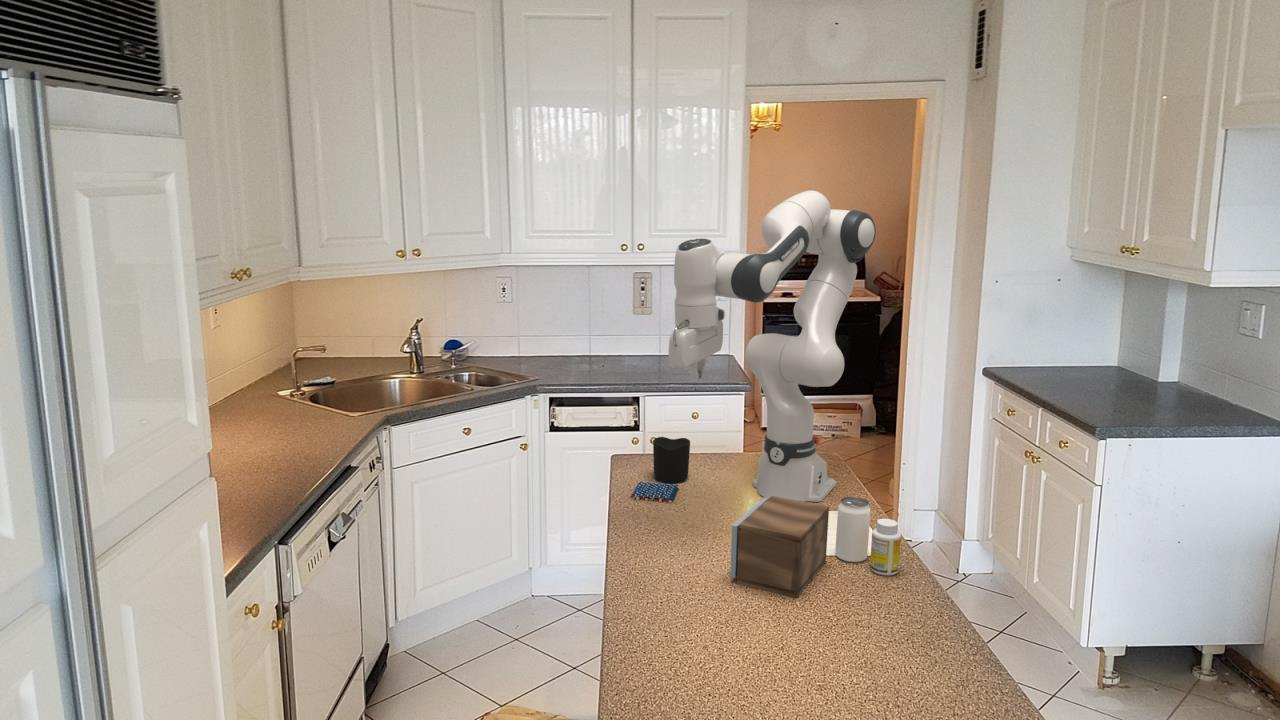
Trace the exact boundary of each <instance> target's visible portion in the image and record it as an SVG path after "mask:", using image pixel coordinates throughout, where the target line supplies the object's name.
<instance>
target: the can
mask: <svg viewBox="0 0 1280 720" xmlns="http://www.w3.org/2000/svg"><path fill="white" fill-rule="evenodd" d="M869 504H870V502H869V501H868V500H867V499H865V498H863V497H859V496H844V497H842V498H841V499H840V503H839V505H838V507H837V517H836V518H837V519H836V520H837V521H836V535H835V550H834V551H835V552H834V554H835V556H836V557H837V558H838V559H839V560H840V561H843V562H846V563H853V564H854V563H855V564H856V563H861V562H864V561H866V559H867V558H868V553H869V552H868V551H869V541H870V540H869V539H870V538H869V537H870V524H871V508H870V506H869Z"/></svg>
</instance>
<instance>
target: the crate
mask: <svg viewBox="0 0 1280 720" xmlns="http://www.w3.org/2000/svg"><path fill="white" fill-rule="evenodd" d="M829 513H830V506H829V505H824V504H818V503H814V502H813V503H812V502H809V501H804V502H803V501H798V500H792V499H787V498H782V497H776V496H771V497H770V498H769V499H768V500H767V501H766V502H764V503H763V504H762V505H761V506H760V507H759V508H757V509H756V510H755V511H754V512H753V513H752V514H751V515H749V516H748V517H747V518H746V519H745V520H744V521H743V522H741V523H740V524H739V541H738V566H737V577H736V584H737V585H741V586H745V587H750V588H754V589H758V590H762V591H767V592H770V593H775V594H779V595H783V596H788V597H793V598H796V599H797V598H798V597H799V596H800V595H801V594H802V593H803V591H805V589H806V588H807V586H808V585H809V584H810V583H811V581H812V580H813V579H814V578H815V577H816V575H817V574H818V573H819V572H820V570H821V569H822V568H823V567H824V565H825V564H826V563H827V548H828V547H827V546H828V534H829V533H828V530H829V516H830V514H829Z"/></svg>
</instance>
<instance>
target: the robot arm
mask: <svg viewBox="0 0 1280 720" xmlns="http://www.w3.org/2000/svg"><path fill="white" fill-rule="evenodd" d="M761 236H762V239H763V241H764V243H765V244H766V246H767V247H768V248H769V250H768V251H766V252H764V253H754V254H753V253H752V254H751V253H738V252H737V253H736V252H728V251H725V250H722V249H720V248H718V247H717V246H716V245H714V243H713V241H712V240H711V239H708V238H694V239H688V240H685V241H682V242H681V243H680V244H679V245H678V246H677V248H676V250H675V255H674V256H675V257H674V267H673V274H674V275H673V277H674V279H673V280H674V281H673V282H674V283H673V285H674V287H675V291H676V293H675V299H674V326H675V327H674V329H673V331H672V332H671V333H670V336H669V341H668V359H667V360H668V364H669V367H670V368H671V369H672V368H673V369H687V373H688V380H689V382H693V383H697V382H698V381H700V380H701V379H703V378H704V377H705V376H704V375H705V373H704V372H705V368H706V363H707V358H708V357H710V356H712V355H714V354H717V353H718V352H720V351H721V349H722V347H723V342H724V341H723V340H724V322H723V320H724V319H725V317H726V314H725V313H726V312H725V310H724V309H722V308H720V307H718V306H717V298H716V296H717V297H723V298H729V299H736V300H737V299H738V300H743V301H747V302H751V303H755V304H757V303H762V302H764V301H765V300H767V299H768V298H769V297H770V296H771V295H772V294H773V292H774V290H775V289H776V287H777V286H778V284H779V283H780V282H781V279H782V278H783V277H784V276H785V275H786V274H787V273H788V272H789V271H790V270H791V268H793V266H795V264H796V263H797V262H799V260H800V259H802V257H803V256H804V254H806V255H811V254H812V255H818V259H817V264H816V266H815V267H814V268H813V270H812V272H811V274H810V275H809V277H808V278H807V281H805V284H804V286H803V288H802V290H801V292H800V294H799V296H798V298H797V300H796V303H794V307H793V316H794V319H795V321H796V323H797V324H798V325H799V327H800V328H801V332H800V334H799V335H798V336H792V335H788V334H781V333H776V332H775V333H773V332H772V333H762V334H761V333H760V334H756V335H753V337H752V338H751V339H750V340H749V341H748V343H747V345H746V347H745V352H744V357H745V363H746V366H747V367H748V369H749V370H750V371H751V372H752V374H753V375H754V376H755V377H756V378H757V380H758V382H759V384H760V387H761V389H762V392H763V394H764V395H763V396H764V400H765V402H766V404H765V405H766V434H765V436H764V440H763V445H764V446H763V451H764V452H763V453H761V455H760V456H759V461H758V469H757V476H756V479H754V480H753V481H752V486H753V487H755V488H756V491H757V494H759V495H760V496H762V497H763V498H764V497H765V498H770V497H771V496H776V497H782V498H787V499H792V500H798V501H803V502H813V503H814V502H819V503H820V502H822V501H823V500H824V499H825V498H826V497H827V496H828V495H829V493H830V492H831V491H832V490H833V489H834V488H836V487H835V486H836V485H837V480H835V479H834V478H832V477H829V476H828V463H827V462H826V460H825V459H823V458H822V457H821V456H820V455H819V453H817V452H816V451H817V450H816V445H819V444H820V442H821V437H820V436H819V435H814V434H813V433H814V432H813V431H814V418H815V411H814V407H813V405H812V403H811V402H810V400H809V399H808V398H807V397H805V396H804V394H803V393H802V391H801V390H800V387H799V385H801V386H807V387H813V388H815V387H816V388H819V387H832V386H834V385H835V384H836V383H838V381H839V380H840V379H841V377H842V375H843V373H844V370H845V358H844V355H843V353H842V351H841V349H840V348H839V346H838V345H837V341H836V330H837V325H838V323H839V321H840V318H841V316H842V314H843V312H844V309H845V308H846V305H847V303H848V301H849V299H850V296H851V295H852V293H853V292H852V291H853V288H854V285H855V281H856V277H857V274H858V265H857V264H856V263H858V262H860V261H862V260H863V258H865V256H866V254H867V253H868V252H869V250H870V249H871V247H872V246H873V244H874V242H875V239H876V224H875V222H874V220H873V218H872V216H871V215H870V214H869V213H866V212H865V211H861V210H857V209H856V210H855V209H853V210H852V209H851V210H848V209H847V210H846V209H839V208H838V209H832V208H831V204H830V201H829V200H828V199H827V197H826V196H825V195H824V194H823V193H821V192H819V191H817V190H811V189H810V190H805V191H802V192H799V193H796V194H794V195H793V196H790V197H789V198H786V199H785V200H783V201H782V202H780V203H779V204H778V205H775V206H774V207H773V208H772V209H770V210H769V211H768V212H767V214H766V215H765V216H764V217H763V220H762V223H761Z"/></svg>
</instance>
